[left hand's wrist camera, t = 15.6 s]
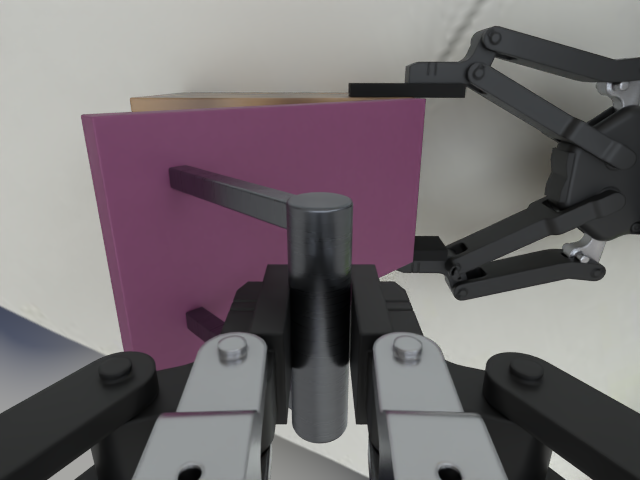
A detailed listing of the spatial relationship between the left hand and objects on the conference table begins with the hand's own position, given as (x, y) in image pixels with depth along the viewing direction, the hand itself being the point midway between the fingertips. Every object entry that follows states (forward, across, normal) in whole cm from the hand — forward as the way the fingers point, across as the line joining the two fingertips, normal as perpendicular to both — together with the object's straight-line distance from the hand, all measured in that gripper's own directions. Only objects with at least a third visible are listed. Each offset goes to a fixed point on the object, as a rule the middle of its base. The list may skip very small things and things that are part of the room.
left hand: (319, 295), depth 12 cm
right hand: (+17, -2, 0) cm, 17 cm away
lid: (+8, +1, 0) cm, 8 cm away
